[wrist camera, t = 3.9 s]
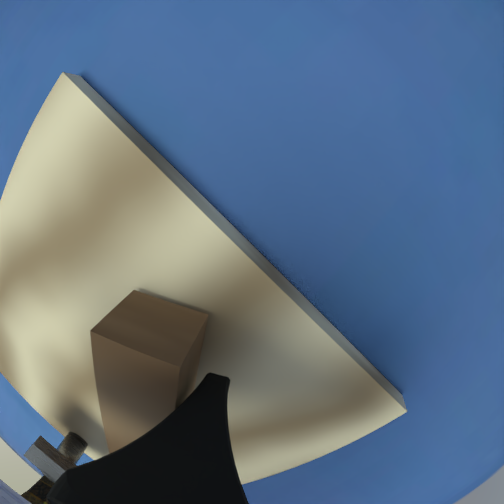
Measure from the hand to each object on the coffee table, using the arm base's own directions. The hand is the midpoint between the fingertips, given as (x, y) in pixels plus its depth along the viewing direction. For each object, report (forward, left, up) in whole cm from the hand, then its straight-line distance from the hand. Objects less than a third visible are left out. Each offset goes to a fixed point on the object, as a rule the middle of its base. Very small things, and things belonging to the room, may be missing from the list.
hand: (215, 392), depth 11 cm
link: (-1, +7, -1) cm, 7 cm away
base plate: (+3, +7, -3) cm, 8 cm away
